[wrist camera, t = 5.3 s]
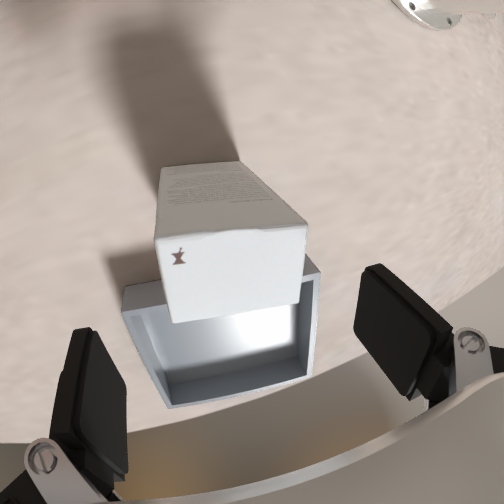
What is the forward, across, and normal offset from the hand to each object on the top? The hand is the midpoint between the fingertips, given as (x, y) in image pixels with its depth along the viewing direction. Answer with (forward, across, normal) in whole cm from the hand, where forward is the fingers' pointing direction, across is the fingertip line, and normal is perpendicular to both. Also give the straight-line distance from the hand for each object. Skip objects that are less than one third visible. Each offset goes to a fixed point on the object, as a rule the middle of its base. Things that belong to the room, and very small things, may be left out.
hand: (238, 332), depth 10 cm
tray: (+15, -1, +13) cm, 20 cm away
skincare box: (+15, -1, -1) cm, 15 cm away
